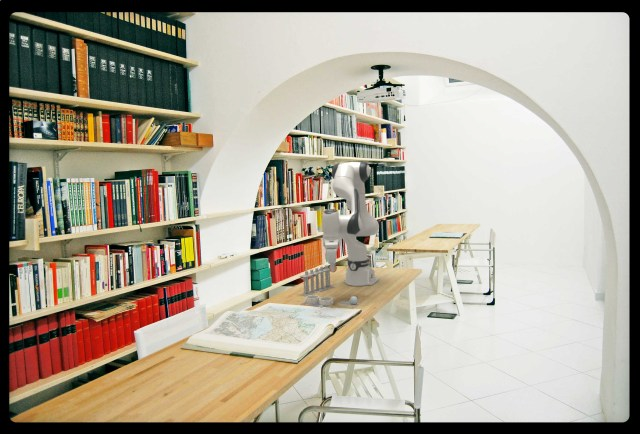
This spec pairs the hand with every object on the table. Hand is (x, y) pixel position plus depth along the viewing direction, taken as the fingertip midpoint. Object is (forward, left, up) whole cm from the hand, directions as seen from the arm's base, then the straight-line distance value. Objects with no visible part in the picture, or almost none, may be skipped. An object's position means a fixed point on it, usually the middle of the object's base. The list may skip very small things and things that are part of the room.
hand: (332, 269), depth 240 cm
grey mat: (-2, +7, -17) cm, 19 cm away
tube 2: (+3, -3, -17) cm, 17 cm away
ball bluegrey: (-2, +10, -17) cm, 20 cm away
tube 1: (+3, -11, -17) cm, 20 cm away
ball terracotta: (0, 0, -1) cm, 1 cm away
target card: (+5, -7, -17) cm, 19 cm away
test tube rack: (-18, -22, -18) cm, 33 cm away
